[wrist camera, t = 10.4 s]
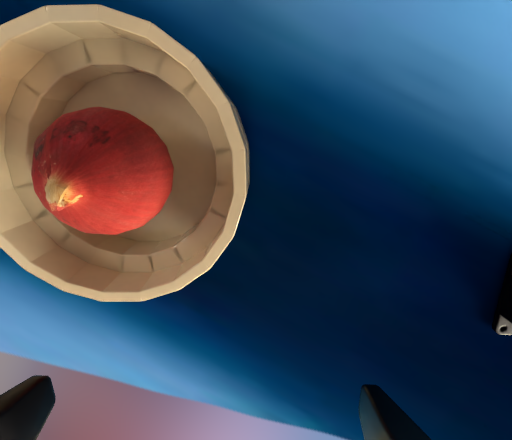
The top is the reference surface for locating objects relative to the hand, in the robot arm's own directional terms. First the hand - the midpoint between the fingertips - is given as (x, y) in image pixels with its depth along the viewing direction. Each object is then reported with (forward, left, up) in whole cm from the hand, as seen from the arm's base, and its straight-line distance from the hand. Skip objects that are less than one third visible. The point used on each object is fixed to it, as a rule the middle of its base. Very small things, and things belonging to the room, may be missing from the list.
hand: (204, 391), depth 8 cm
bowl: (+6, -5, -12) cm, 14 cm away
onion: (+6, -5, -11) cm, 14 cm away
